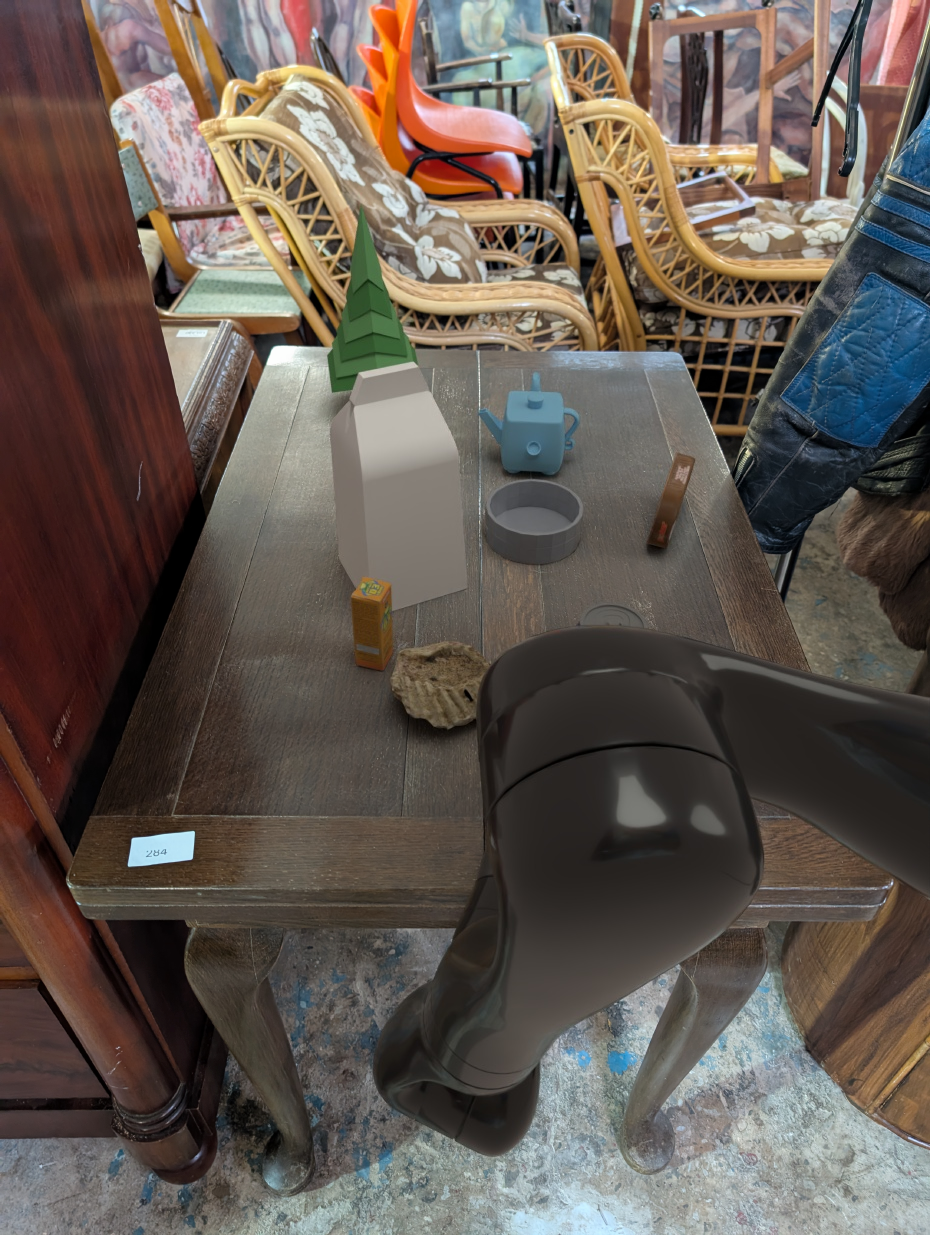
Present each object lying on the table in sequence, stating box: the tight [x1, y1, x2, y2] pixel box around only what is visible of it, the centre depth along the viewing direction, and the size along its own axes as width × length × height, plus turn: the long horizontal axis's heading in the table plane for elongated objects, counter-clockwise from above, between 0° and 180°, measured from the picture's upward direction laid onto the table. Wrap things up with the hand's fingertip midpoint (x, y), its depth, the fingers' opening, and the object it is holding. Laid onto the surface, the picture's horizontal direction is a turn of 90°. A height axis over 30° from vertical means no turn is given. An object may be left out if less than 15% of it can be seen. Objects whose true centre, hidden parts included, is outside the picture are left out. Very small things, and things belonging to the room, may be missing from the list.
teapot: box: [477, 371, 581, 476], centre depth 111 cm, size 18×14×10 cm
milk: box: [329, 362, 469, 612], centre depth 87 cm, size 12×12×26 cm
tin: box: [646, 451, 696, 549], centre depth 100 cm, size 15×3×8 cm, turn 159°
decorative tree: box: [326, 204, 419, 394], centre depth 115 cm, size 14×16×30 cm
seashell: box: [389, 640, 491, 730], centre depth 79 cm, size 11×7×10 cm
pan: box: [484, 478, 585, 565], centre depth 100 cm, size 12×12×4 cm
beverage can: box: [575, 601, 649, 629], centre depth 76 cm, size 7×7×12 cm
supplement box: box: [350, 577, 394, 672], centre depth 82 cm, size 3×3×10 cm
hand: (595, 695), depth 73 cm, fingers closed
